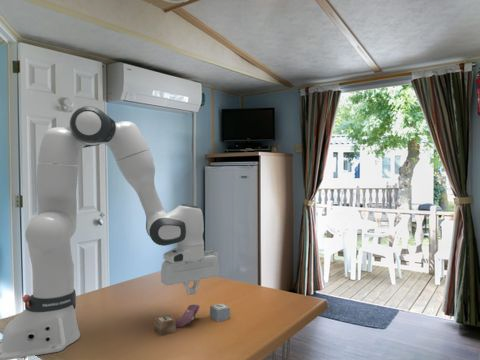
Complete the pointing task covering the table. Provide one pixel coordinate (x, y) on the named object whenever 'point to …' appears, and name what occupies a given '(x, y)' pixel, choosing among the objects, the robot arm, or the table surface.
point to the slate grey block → (220, 312)
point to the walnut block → (165, 325)
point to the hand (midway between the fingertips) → (191, 293)
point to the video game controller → (187, 315)
